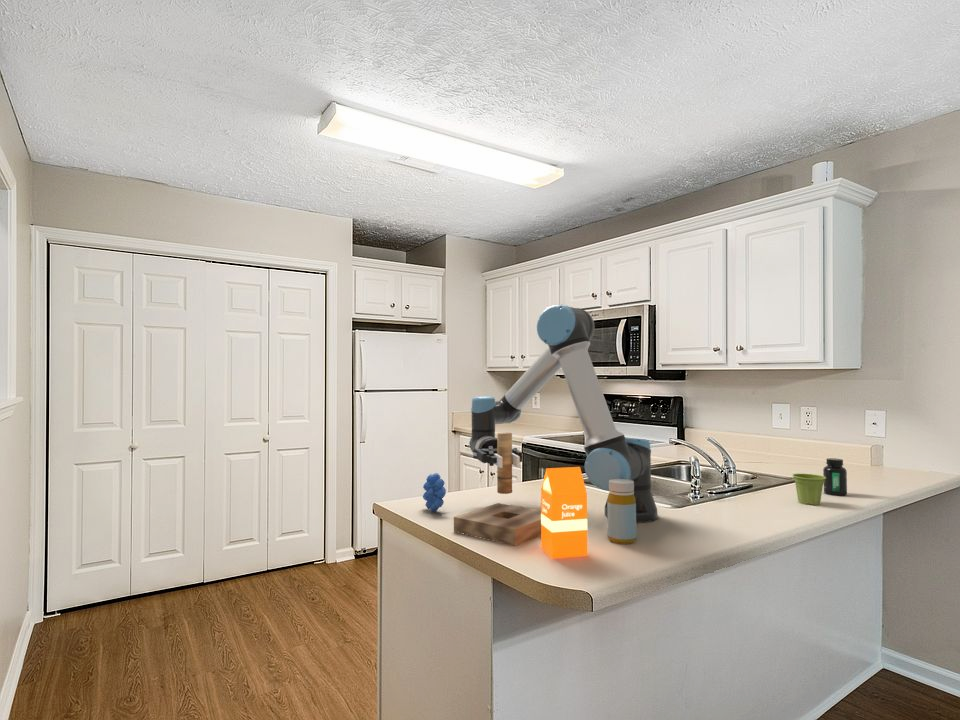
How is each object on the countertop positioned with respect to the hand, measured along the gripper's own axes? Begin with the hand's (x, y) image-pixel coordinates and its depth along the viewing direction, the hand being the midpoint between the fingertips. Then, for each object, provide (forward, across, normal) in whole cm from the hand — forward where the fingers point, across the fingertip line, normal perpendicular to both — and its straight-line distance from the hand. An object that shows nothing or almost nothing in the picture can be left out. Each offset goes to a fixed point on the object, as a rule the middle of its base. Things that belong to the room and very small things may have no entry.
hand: (509, 462), depth 149 cm
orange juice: (+16, -9, -19) cm, 27 cm away
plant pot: (-13, -103, -19) cm, 106 cm away
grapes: (-30, +15, -20) cm, 39 cm away
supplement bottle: (-22, -122, -19) cm, 125 cm away
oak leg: (-5, 0, -9) cm, 10 cm away
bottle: (+11, -26, -19) cm, 34 cm away
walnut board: (-5, 0, -19) cm, 20 cm away
